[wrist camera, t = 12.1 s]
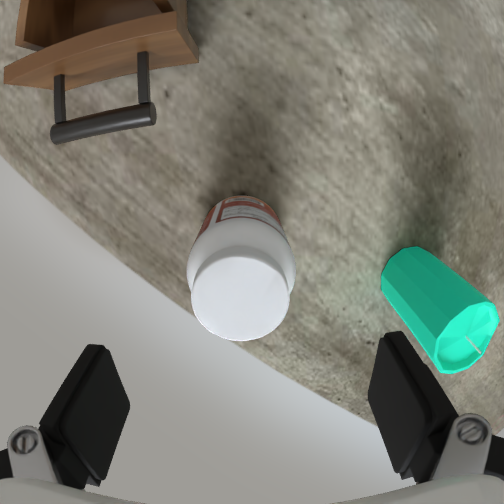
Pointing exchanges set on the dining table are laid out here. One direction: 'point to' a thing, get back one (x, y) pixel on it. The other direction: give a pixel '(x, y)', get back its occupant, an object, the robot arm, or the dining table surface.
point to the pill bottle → (241, 270)
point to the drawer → (99, 54)
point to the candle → (439, 308)
